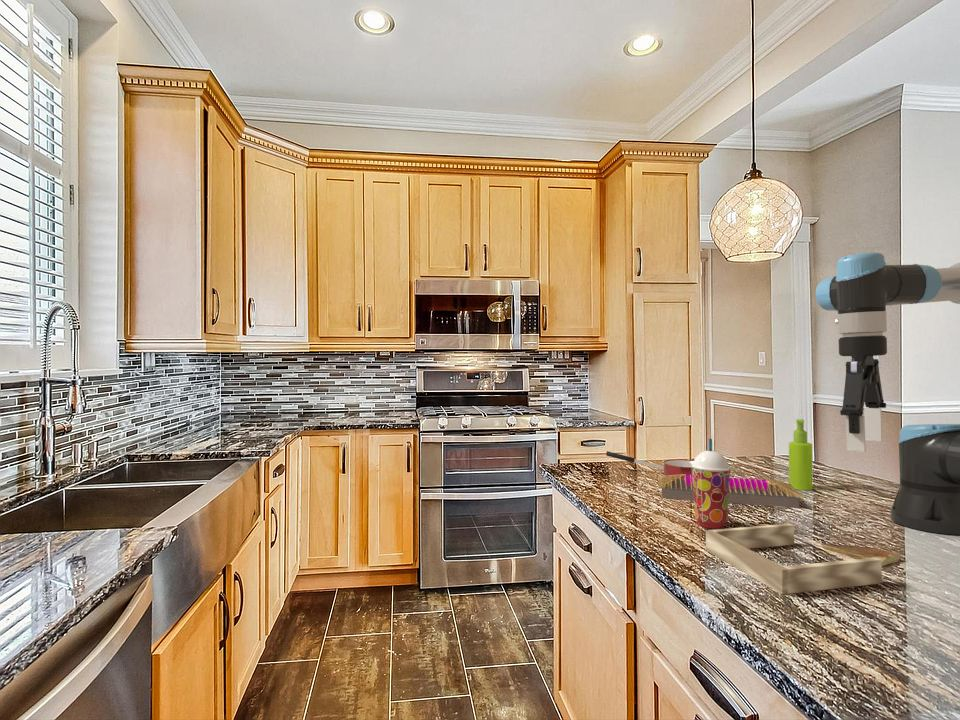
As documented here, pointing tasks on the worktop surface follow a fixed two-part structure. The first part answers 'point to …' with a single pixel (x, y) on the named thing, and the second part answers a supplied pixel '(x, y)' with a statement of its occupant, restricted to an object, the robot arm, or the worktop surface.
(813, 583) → the box
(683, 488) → the pink bristle brush
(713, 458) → the smoothie
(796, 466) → the soap dispenser
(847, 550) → the shard
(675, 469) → the frying pan
